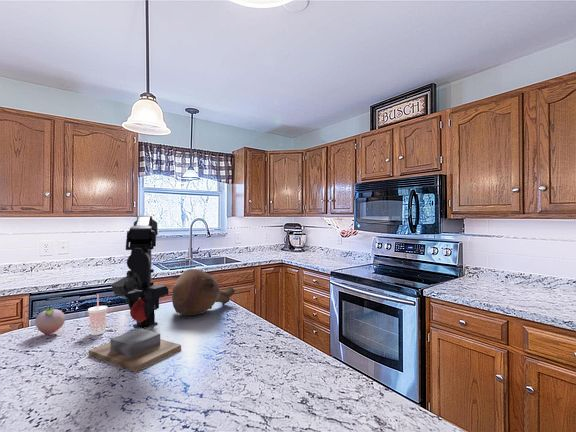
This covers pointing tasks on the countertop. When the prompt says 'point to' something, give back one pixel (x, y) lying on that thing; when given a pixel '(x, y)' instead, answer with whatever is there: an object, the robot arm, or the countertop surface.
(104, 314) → the beverage cup
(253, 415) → the countertop surface
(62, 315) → the decorative fruit
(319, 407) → the countertop surface
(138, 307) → the onion
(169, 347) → the stacking base
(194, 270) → the jug
